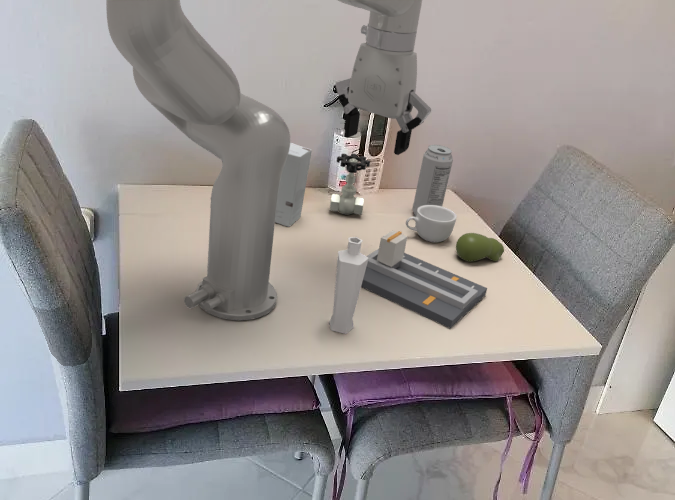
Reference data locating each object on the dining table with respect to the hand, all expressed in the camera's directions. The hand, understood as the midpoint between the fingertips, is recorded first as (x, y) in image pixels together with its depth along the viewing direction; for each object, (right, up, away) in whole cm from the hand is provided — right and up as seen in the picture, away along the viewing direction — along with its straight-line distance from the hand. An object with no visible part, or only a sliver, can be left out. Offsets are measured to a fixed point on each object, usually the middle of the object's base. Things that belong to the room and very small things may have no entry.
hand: (374, 144), depth 114 cm
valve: (-5, -10, +27) cm, 29 cm away
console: (+7, -24, +4) cm, 26 cm away
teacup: (+11, -15, +22) cm, 29 cm away
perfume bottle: (-6, -29, -9) cm, 31 cm away
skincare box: (-18, -11, +21) cm, 30 cm away
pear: (+21, -19, +17) cm, 33 cm away
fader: (+3, -20, +6) cm, 21 cm away
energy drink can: (+12, -11, +31) cm, 35 cm away
